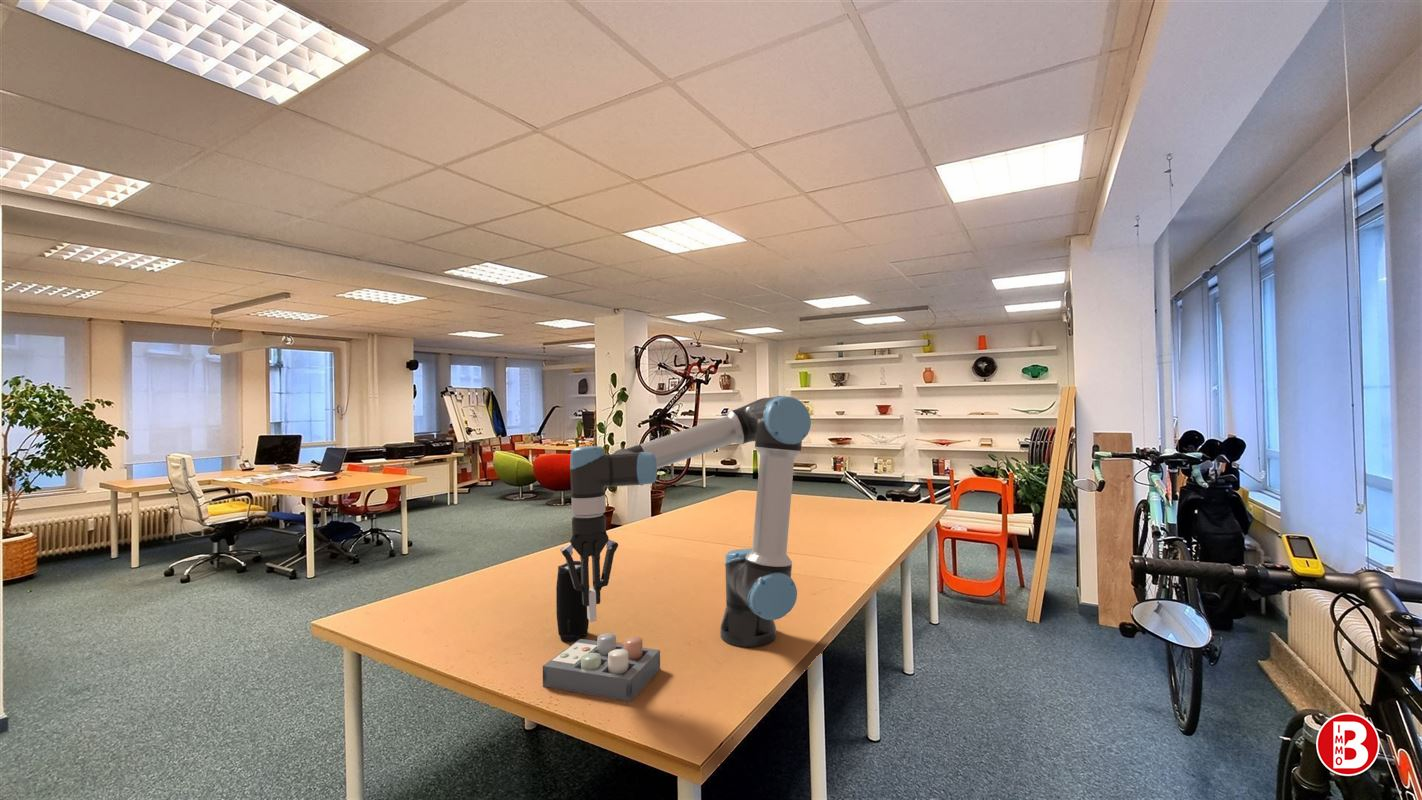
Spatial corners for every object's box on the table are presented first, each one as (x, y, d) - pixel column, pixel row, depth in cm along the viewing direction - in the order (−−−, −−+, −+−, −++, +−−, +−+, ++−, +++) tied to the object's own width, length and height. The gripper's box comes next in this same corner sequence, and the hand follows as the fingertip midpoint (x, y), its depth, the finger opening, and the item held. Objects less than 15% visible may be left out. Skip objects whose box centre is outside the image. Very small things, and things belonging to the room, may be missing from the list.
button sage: (604, 674, 121) (604, 654, 121) (594, 683, 117) (594, 662, 117) (587, 671, 122) (587, 651, 123) (577, 680, 118) (576, 660, 118)
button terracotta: (645, 657, 125) (645, 637, 125) (637, 665, 121) (637, 645, 121) (629, 654, 127) (629, 635, 127) (620, 663, 123) (620, 643, 123)
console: (660, 669, 126) (659, 648, 126) (630, 701, 112) (630, 678, 112) (580, 656, 133) (580, 637, 133) (542, 686, 119) (542, 664, 119)
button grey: (619, 653, 128) (619, 634, 128) (610, 661, 124) (610, 641, 124) (603, 651, 129) (603, 632, 129) (593, 659, 125) (593, 639, 125)
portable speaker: (569, 628, 152) (569, 559, 152) (596, 632, 148) (596, 562, 149) (549, 639, 144) (548, 566, 145) (577, 645, 140) (576, 570, 141)
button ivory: (632, 670, 119) (631, 650, 119) (622, 680, 115) (622, 659, 115) (614, 668, 120) (614, 648, 120) (604, 677, 116) (604, 656, 116)
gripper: (612, 509, 127) (615, 608, 126) (556, 515, 121) (559, 619, 121) (621, 513, 120) (624, 619, 120) (562, 520, 114) (565, 631, 114)
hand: (592, 619), depth 120 cm, fingers closed
